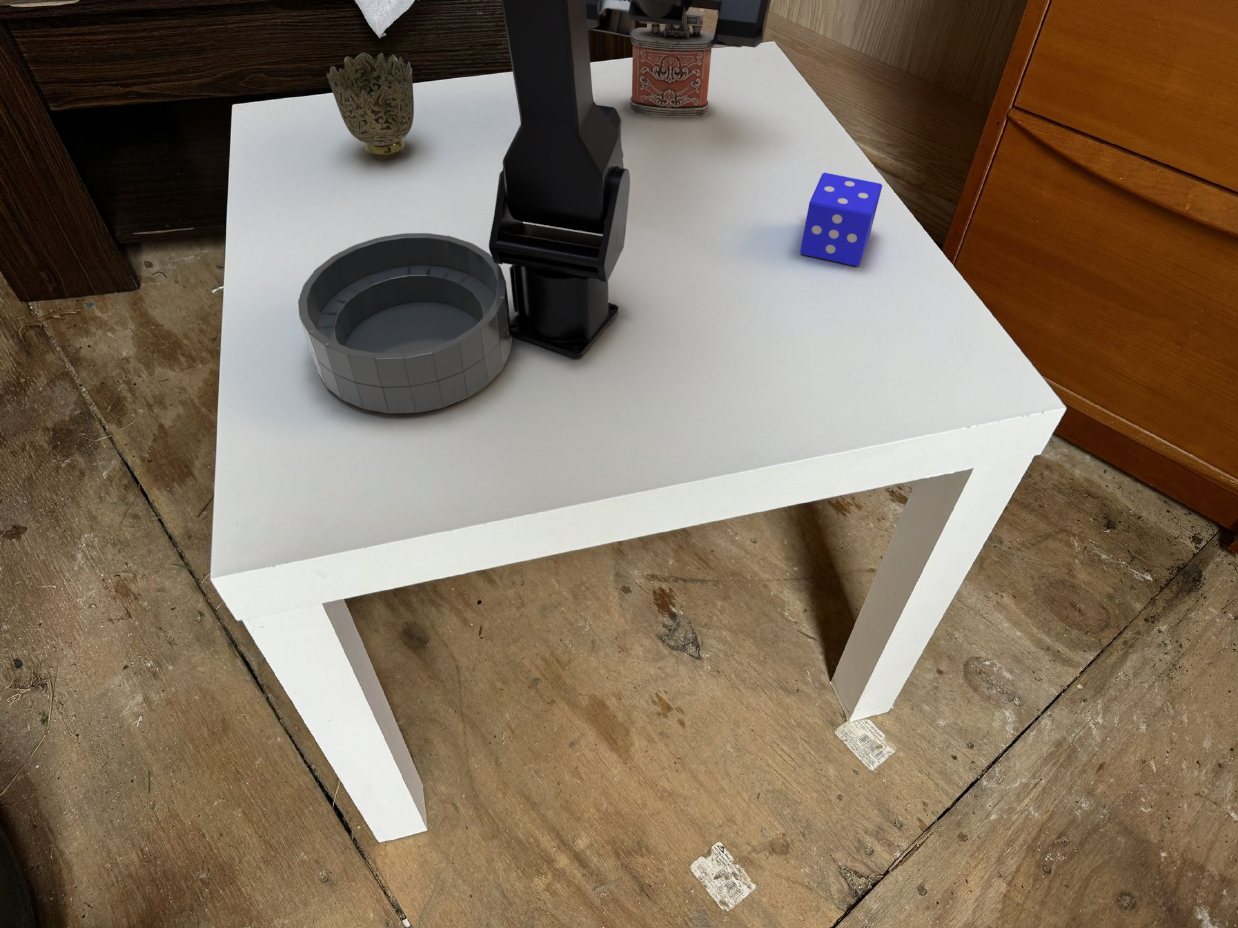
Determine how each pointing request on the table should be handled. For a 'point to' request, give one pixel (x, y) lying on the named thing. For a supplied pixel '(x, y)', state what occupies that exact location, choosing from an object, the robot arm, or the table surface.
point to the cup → (375, 101)
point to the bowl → (407, 322)
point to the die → (840, 218)
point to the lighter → (671, 68)
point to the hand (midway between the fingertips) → (675, 37)
